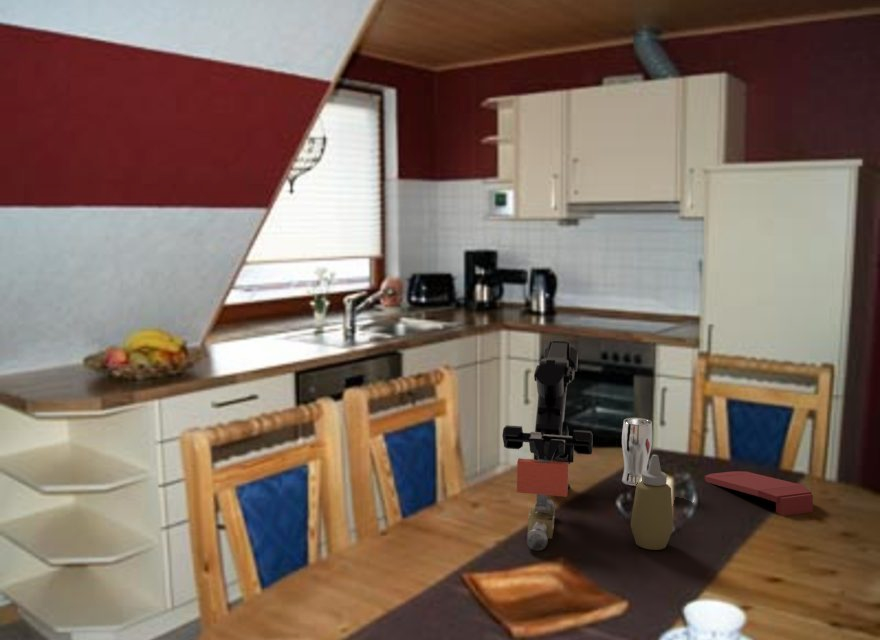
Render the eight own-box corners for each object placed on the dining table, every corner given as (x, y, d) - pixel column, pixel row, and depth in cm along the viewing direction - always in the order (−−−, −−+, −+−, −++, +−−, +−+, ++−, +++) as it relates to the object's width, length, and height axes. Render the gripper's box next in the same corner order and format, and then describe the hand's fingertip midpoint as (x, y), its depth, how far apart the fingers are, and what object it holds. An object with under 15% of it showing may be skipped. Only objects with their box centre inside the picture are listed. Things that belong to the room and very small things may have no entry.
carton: (701, 495, 194) (775, 517, 170) (701, 474, 194) (774, 494, 170) (743, 490, 198) (820, 511, 174) (742, 470, 198) (819, 488, 174)
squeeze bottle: (662, 557, 150) (667, 465, 147) (622, 545, 155) (626, 456, 152) (678, 543, 156) (683, 454, 154) (639, 532, 161) (643, 446, 159)
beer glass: (647, 477, 194) (650, 418, 192) (652, 487, 187) (655, 425, 185) (618, 476, 195) (620, 417, 193) (621, 486, 188) (624, 424, 186)
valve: (533, 514, 170) (534, 496, 170) (556, 516, 169) (556, 498, 168) (524, 549, 153) (524, 529, 152) (549, 551, 152) (549, 531, 151)
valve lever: (517, 508, 162) (518, 457, 161) (566, 513, 160) (568, 461, 159) (516, 512, 160) (517, 459, 159) (566, 516, 158) (568, 463, 157)
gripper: (593, 432, 177) (590, 497, 168) (510, 426, 181) (502, 489, 172) (593, 406, 169) (590, 473, 160) (506, 400, 173) (498, 465, 164)
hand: (544, 476), depth 164 cm, fingers closed
